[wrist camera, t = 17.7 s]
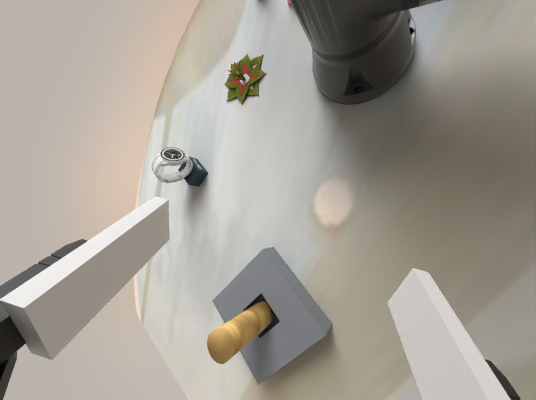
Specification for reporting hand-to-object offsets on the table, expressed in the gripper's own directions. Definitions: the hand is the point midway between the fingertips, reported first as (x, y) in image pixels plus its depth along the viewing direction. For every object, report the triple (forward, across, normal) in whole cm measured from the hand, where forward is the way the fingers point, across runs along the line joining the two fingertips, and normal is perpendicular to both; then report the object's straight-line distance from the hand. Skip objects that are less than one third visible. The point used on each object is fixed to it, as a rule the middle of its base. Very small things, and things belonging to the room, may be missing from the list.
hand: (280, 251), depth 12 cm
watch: (+38, -23, -15) cm, 47 cm away
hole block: (+18, +3, -29) cm, 34 cm away
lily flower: (+45, -16, +7) cm, 48 cm away
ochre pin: (+17, +2, -29) cm, 34 cm away
